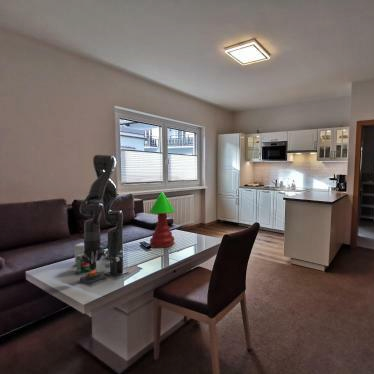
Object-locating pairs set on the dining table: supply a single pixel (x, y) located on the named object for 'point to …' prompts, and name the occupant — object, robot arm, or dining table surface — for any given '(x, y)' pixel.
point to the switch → (109, 263)
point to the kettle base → (116, 267)
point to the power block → (92, 278)
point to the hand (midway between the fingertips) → (92, 269)
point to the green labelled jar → (79, 250)
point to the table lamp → (162, 223)
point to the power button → (92, 272)
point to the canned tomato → (82, 265)
